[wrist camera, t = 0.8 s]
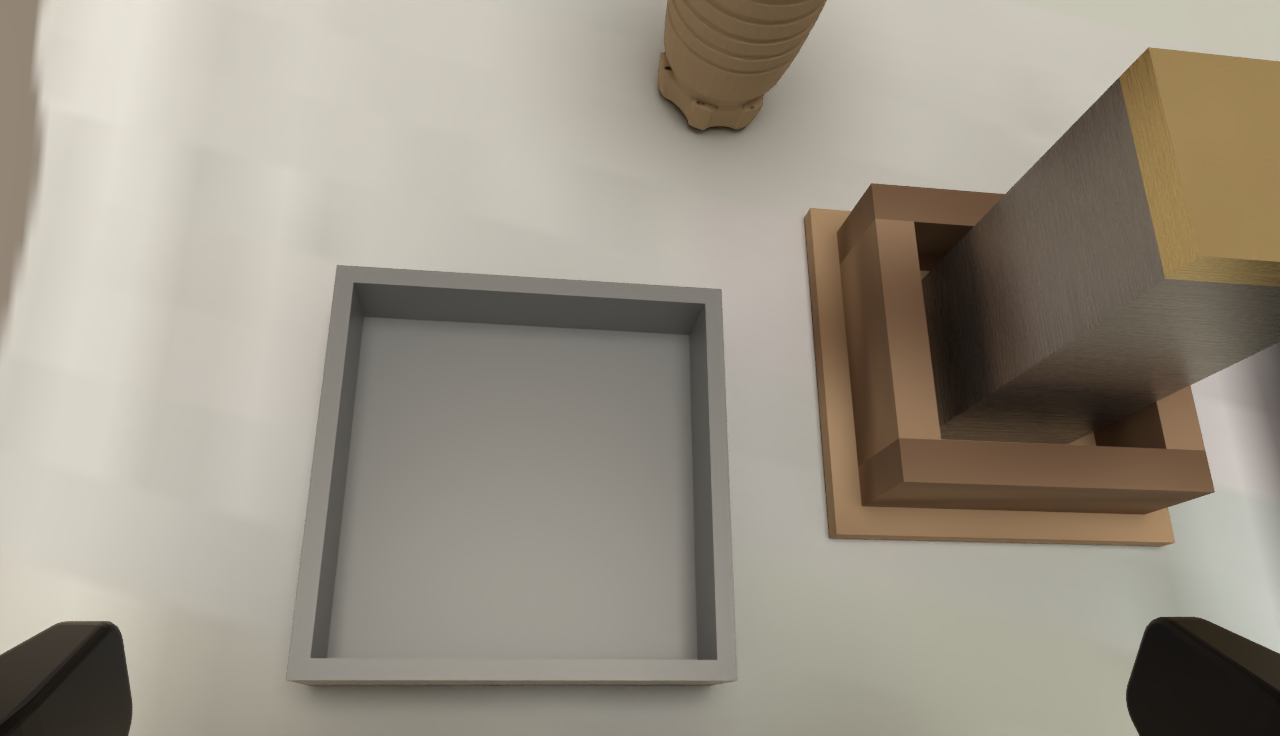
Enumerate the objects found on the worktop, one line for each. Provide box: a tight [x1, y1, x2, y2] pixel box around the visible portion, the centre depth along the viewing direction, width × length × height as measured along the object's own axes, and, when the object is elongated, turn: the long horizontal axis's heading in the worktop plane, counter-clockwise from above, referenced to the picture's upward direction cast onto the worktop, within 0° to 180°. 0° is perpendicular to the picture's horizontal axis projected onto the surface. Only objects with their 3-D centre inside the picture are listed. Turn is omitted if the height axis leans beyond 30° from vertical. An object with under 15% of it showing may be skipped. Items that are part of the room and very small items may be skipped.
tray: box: [286, 265, 737, 685], centre depth 21 cm, size 9×9×2 cm
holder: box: [805, 183, 1215, 546], centre depth 24 cm, size 9×9×3 cm
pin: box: [921, 48, 1280, 444], centre depth 20 cm, size 4×4×10 cm
